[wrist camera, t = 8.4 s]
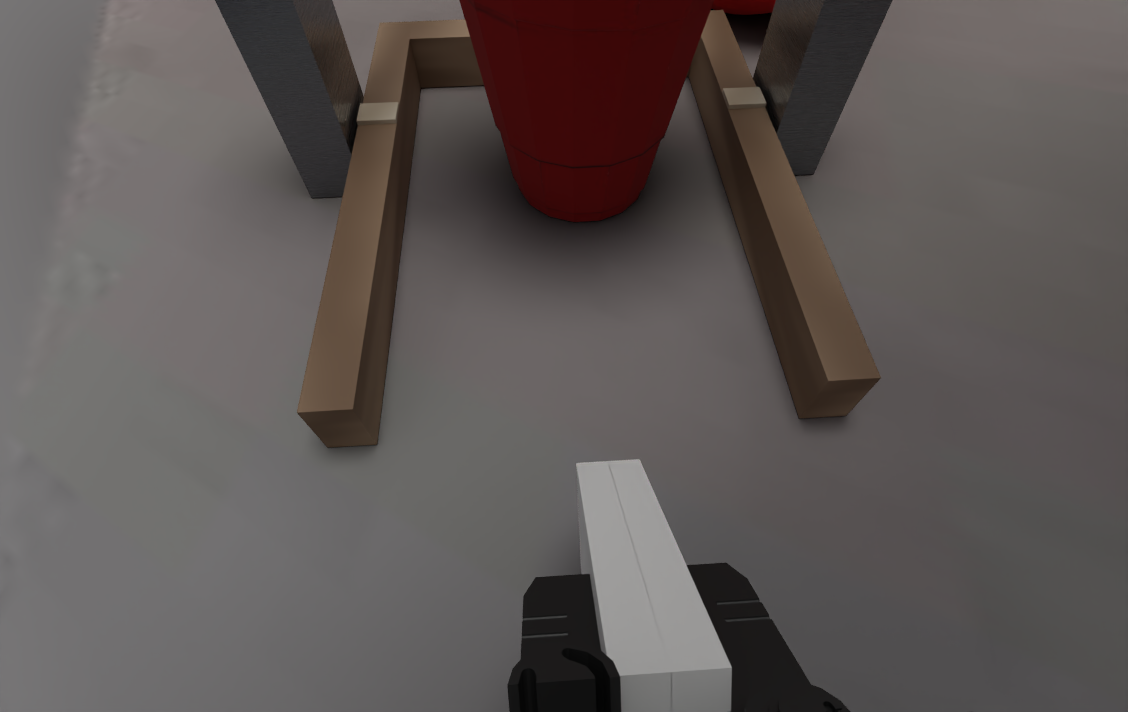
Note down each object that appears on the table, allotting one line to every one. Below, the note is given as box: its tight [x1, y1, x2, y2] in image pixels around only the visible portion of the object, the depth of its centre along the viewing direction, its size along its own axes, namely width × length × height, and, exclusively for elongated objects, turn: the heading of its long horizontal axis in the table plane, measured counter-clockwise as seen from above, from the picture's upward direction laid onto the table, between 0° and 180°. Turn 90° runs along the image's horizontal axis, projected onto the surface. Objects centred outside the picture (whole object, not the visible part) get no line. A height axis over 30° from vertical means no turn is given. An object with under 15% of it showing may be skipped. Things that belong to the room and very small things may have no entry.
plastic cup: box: [460, 0, 714, 222], centre depth 20 cm, size 11×11×12 cm
